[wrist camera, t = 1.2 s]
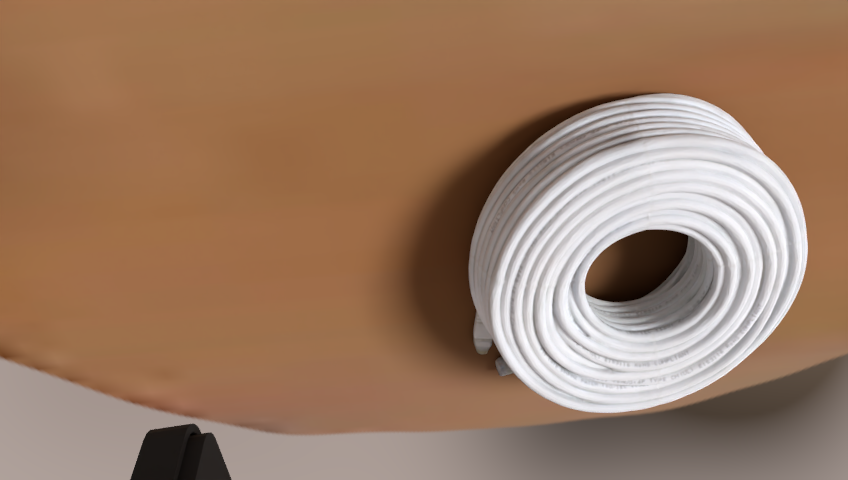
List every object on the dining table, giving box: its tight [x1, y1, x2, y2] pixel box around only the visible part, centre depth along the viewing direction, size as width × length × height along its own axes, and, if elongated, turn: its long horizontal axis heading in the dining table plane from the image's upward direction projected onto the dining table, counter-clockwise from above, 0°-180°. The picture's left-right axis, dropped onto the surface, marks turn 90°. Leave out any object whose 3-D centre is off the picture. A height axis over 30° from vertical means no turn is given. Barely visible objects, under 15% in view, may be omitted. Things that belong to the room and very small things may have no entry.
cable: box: [469, 94, 808, 413], centre depth 39 cm, size 18×18×6 cm
